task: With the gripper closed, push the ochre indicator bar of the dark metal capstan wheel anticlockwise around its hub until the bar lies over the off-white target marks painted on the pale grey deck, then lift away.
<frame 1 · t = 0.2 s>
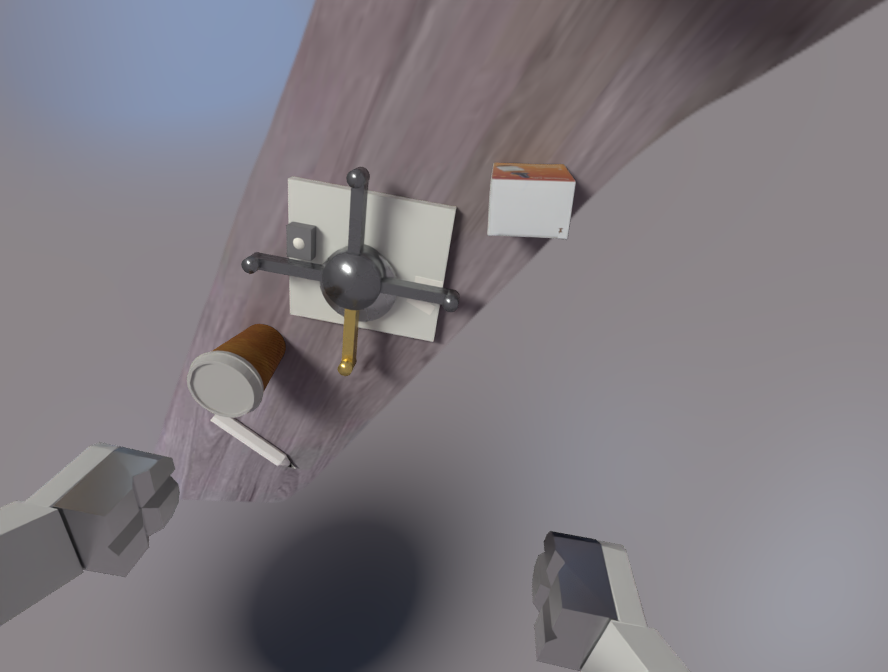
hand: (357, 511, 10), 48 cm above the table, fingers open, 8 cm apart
disposable coffee cup: (265, 342, 66), on the table
stand: (369, 262, 58), on the table
capstan: (355, 277, 54), point 4 cm above the table, hinge at 0.0°
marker: (260, 437, 76), on the table
small box: (525, 188, 52), on the table
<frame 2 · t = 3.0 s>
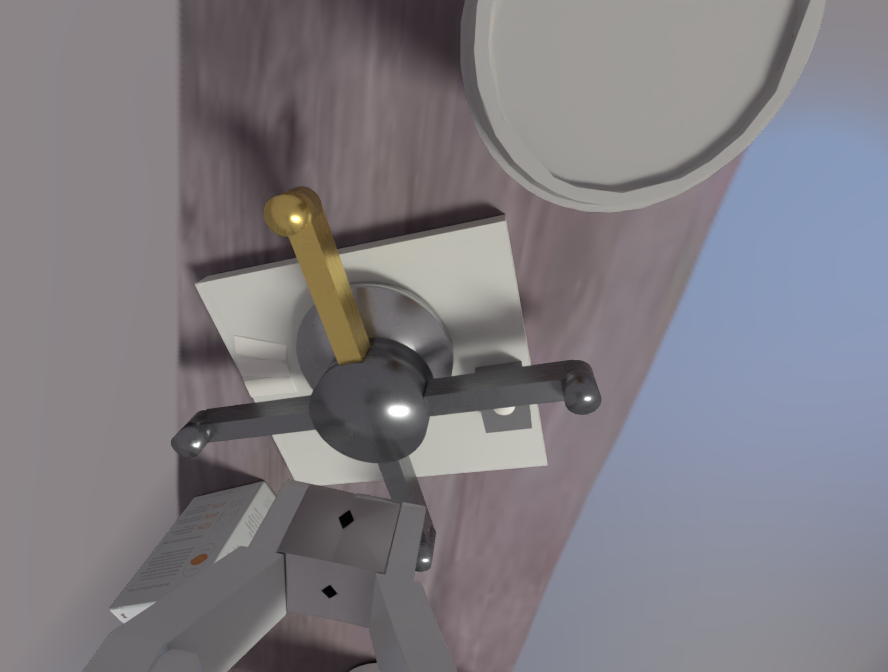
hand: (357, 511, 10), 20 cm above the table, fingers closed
disposable coffee cup: (573, 65, 22), on the table
stand: (386, 368, 32), on the table
capstan: (375, 399, 28), point 4 cm above the table, hinge at 0.0°
small box: (246, 506, 41), on the table
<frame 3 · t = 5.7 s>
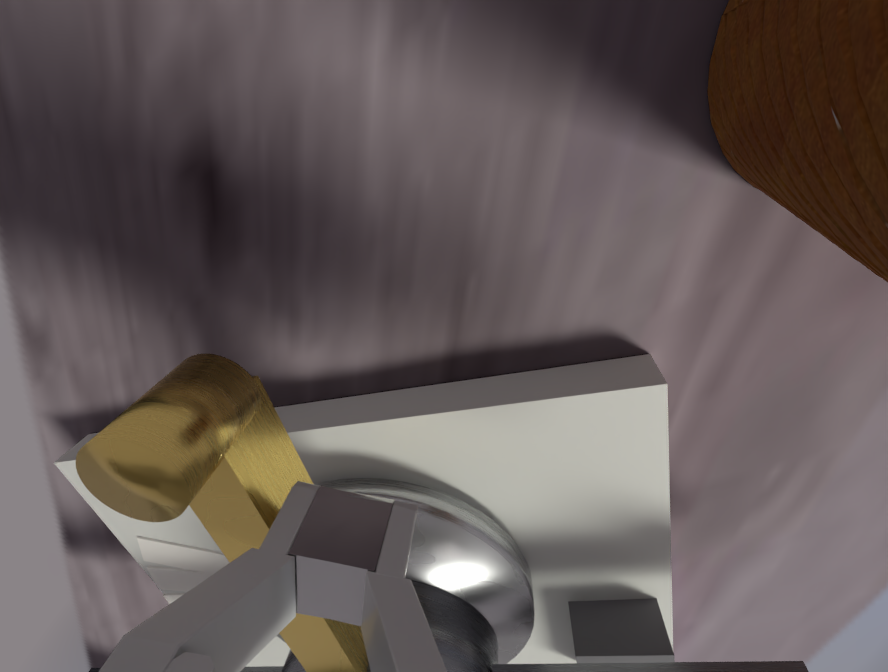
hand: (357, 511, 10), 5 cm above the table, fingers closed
disposable coffee cup: (869, 45, 9), on the table
stand: (405, 571, 19), on the table
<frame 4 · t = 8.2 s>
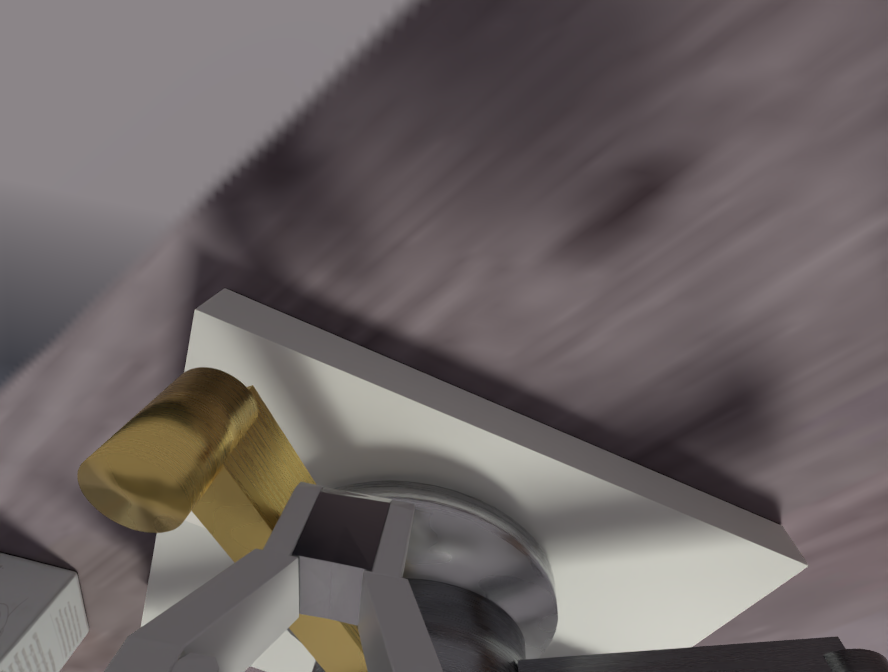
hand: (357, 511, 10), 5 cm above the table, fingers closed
stand: (419, 567, 19), on the table
small box: (14, 577, 23), on the table
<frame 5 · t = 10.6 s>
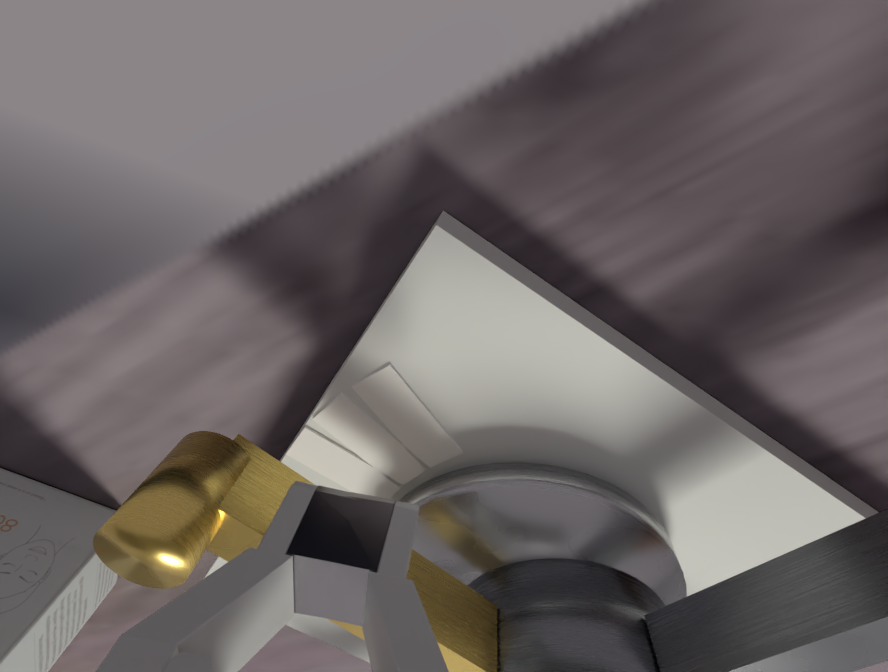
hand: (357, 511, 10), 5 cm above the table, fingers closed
stand: (530, 550, 17), on the table
small box: (42, 513, 20), on the table
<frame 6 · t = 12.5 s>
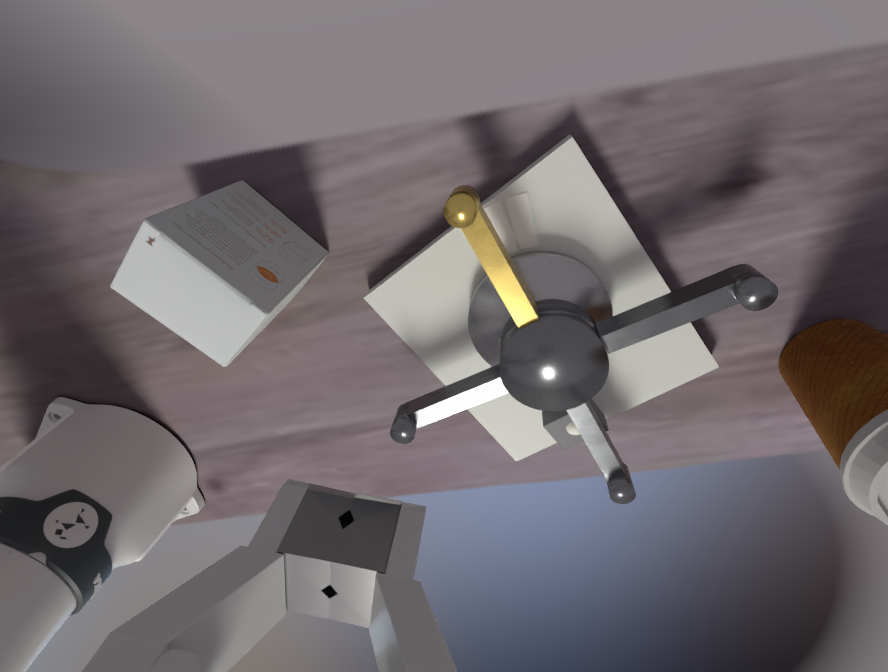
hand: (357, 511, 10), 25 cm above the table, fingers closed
disposable coffee cup: (825, 354, 33), on the table
stand: (537, 322, 35), on the table
capstan: (551, 354, 31), point 4 cm above the table, hinge at 81.8°
small box: (272, 241, 35), on the table
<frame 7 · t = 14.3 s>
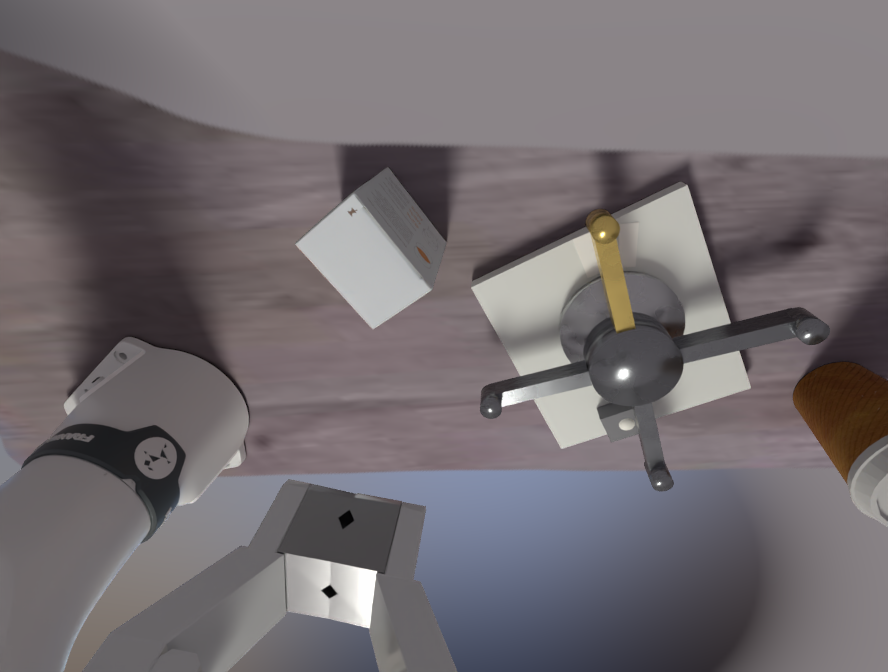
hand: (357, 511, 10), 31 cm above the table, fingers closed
disposable coffee cup: (829, 389, 41), on the table
stand: (610, 330, 41), on the table
capstan: (630, 358, 37), point 4 cm above the table, hinge at 81.8°
small box: (395, 224, 39), on the table
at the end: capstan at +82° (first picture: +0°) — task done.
